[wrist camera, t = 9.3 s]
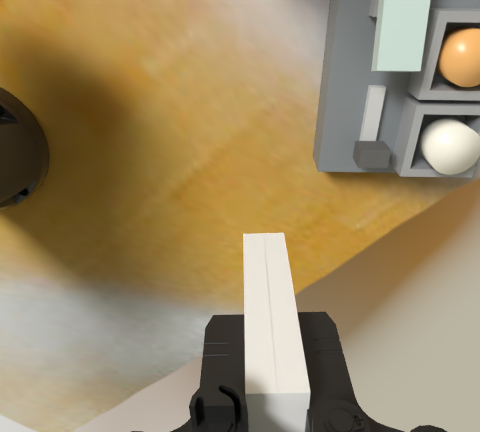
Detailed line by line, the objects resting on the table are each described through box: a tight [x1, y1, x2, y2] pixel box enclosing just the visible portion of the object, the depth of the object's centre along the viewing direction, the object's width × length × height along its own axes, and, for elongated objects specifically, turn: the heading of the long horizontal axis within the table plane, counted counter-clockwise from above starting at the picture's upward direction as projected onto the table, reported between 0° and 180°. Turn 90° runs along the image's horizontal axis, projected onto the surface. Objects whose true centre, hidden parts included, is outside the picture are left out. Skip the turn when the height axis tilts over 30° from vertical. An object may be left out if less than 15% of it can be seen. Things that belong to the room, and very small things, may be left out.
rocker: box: [371, 0, 430, 72], centre depth 31 cm, size 4×10×2 cm, turn 0°
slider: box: [353, 141, 391, 168], centre depth 39 cm, size 3×2×2 cm, turn 89°
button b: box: [435, 26, 480, 87], centre depth 34 cm, size 4×4×3 cm
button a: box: [418, 117, 480, 175], centre depth 37 cm, size 4×4×3 cm
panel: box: [313, 0, 480, 178], centre depth 37 cm, size 16×23×7 cm
